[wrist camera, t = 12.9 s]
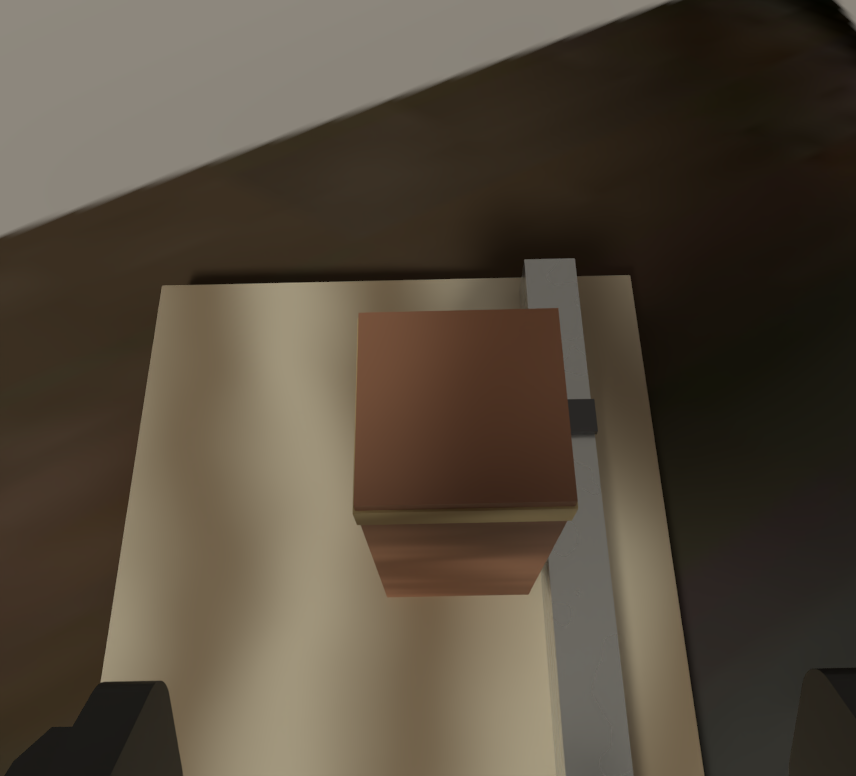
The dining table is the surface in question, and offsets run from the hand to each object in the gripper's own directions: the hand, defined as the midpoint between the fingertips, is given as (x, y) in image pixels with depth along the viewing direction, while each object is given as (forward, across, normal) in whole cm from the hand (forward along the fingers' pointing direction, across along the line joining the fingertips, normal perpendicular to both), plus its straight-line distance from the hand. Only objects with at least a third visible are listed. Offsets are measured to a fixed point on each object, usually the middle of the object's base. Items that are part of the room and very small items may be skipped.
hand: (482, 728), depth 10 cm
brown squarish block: (+12, 0, +4) cm, 13 cm away
